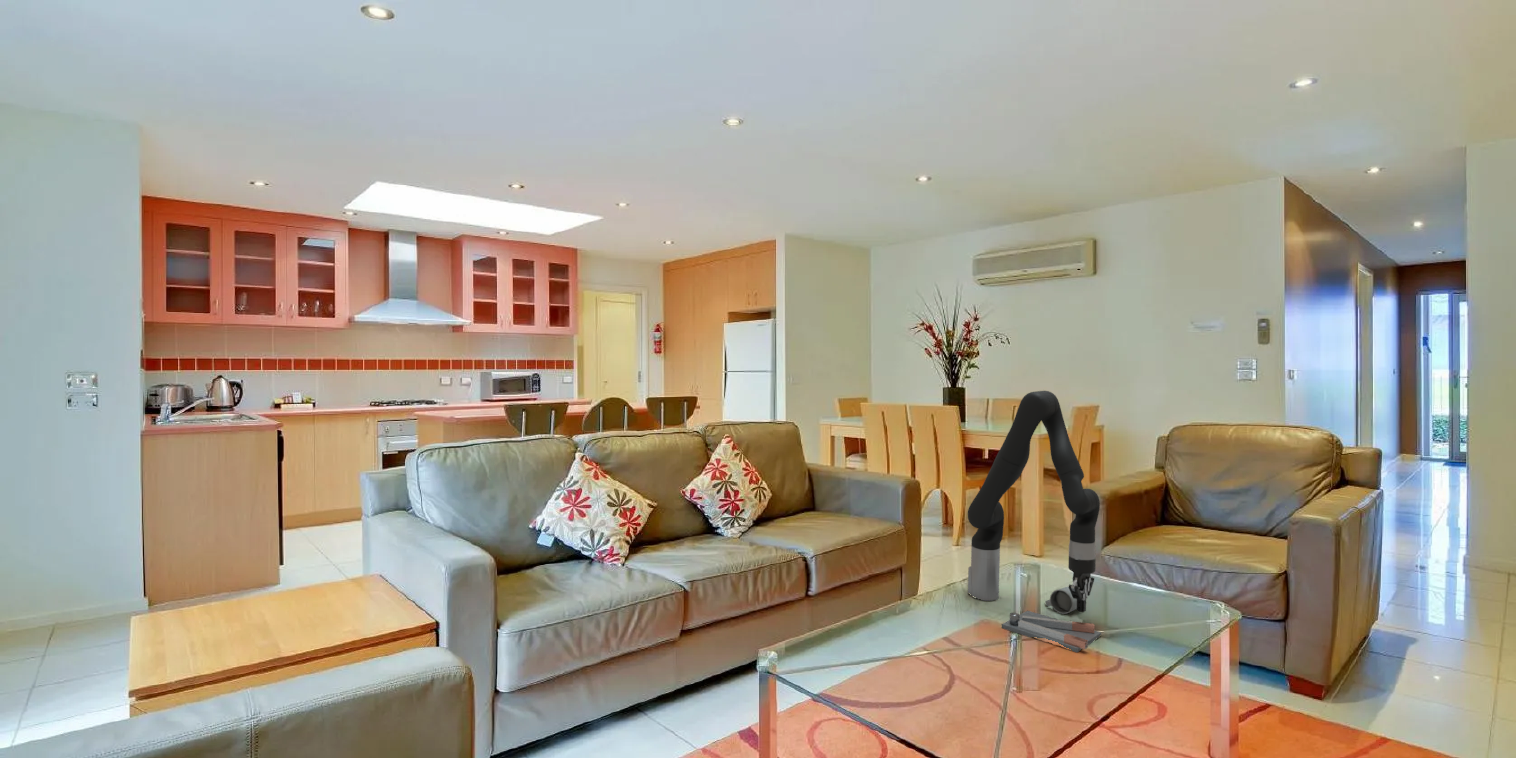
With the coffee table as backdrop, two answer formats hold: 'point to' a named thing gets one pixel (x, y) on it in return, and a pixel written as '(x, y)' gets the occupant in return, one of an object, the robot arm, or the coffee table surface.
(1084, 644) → the tongs fixed arm
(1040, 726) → the coffee table surface
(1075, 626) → the tongs free arm
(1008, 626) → the board
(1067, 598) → the ceramic mug
